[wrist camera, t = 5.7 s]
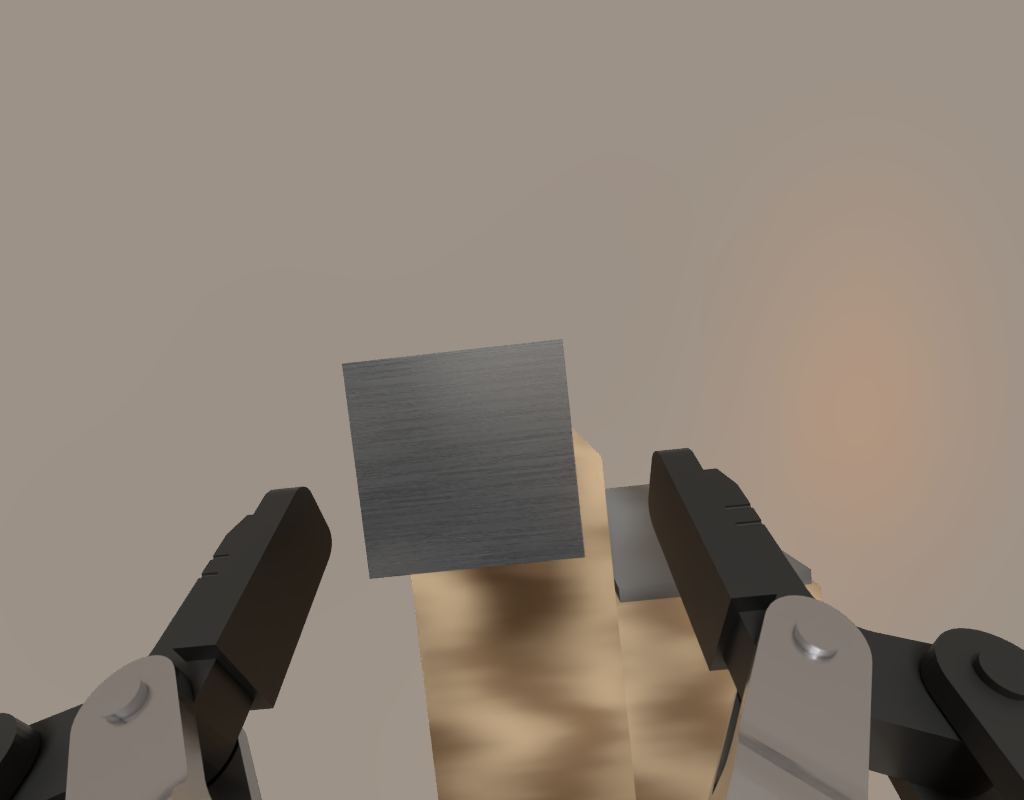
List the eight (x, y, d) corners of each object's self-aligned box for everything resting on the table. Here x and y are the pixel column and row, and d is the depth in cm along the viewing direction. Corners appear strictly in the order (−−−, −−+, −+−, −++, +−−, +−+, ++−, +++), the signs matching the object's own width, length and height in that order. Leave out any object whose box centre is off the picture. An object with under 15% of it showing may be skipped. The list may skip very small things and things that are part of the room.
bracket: (489, 1210, 19) (398, 477, 17) (502, 839, 34) (455, 431, 32) (866, 1185, 18) (808, 434, 17) (710, 821, 33) (672, 407, 32)
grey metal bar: (369, 578, 8) (342, 363, 8) (482, 428, 32) (475, 374, 32) (585, 557, 8) (562, 339, 8) (536, 422, 32) (530, 368, 32)
